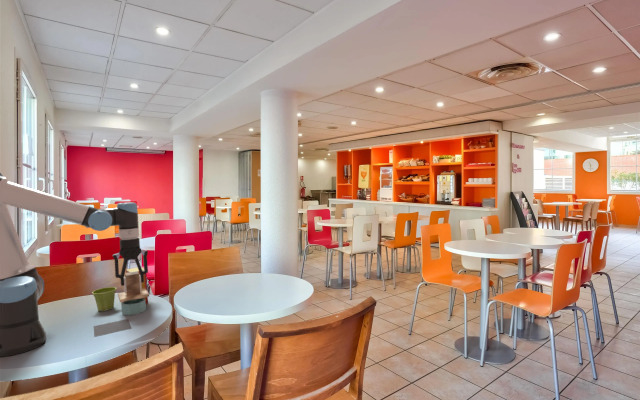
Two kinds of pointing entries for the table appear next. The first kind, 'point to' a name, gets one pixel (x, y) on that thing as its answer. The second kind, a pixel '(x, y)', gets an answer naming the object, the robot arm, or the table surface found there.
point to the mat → (111, 327)
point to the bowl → (133, 306)
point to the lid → (132, 288)
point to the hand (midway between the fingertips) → (133, 291)
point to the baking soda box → (143, 284)
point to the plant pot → (105, 298)
